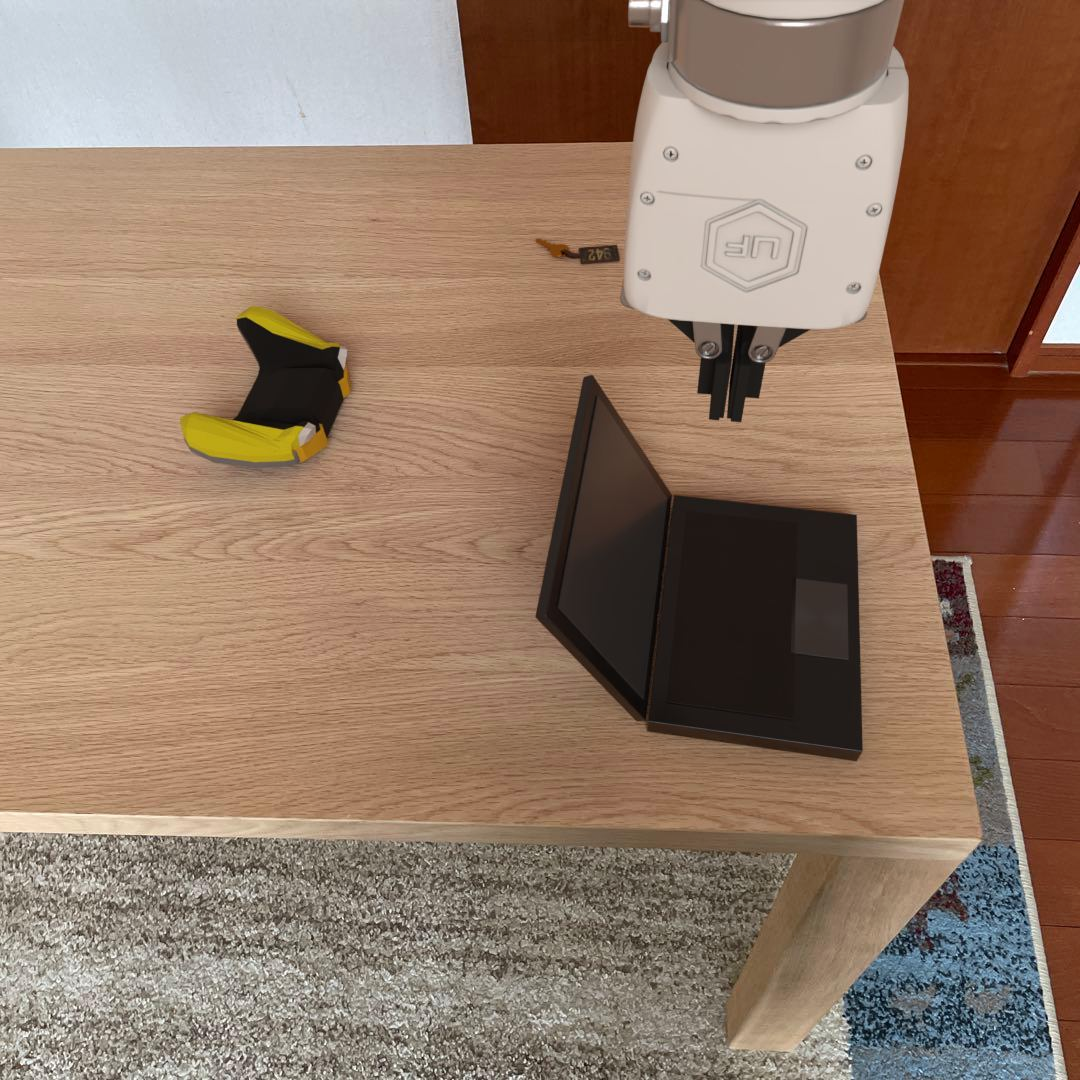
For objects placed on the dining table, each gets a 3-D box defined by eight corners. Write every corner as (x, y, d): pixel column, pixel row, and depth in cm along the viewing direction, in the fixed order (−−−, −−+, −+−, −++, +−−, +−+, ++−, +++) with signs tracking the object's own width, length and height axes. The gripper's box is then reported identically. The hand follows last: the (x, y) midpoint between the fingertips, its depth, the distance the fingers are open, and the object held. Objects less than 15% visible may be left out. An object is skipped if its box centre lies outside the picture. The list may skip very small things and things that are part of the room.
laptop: (851, 527, 68) (857, 513, 66) (856, 761, 58) (863, 751, 56) (672, 507, 69) (673, 493, 68) (646, 731, 59) (648, 720, 58)
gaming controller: (190, 478, 73) (310, 495, 71) (164, 431, 68) (292, 448, 67) (260, 345, 81) (369, 358, 80) (241, 295, 77) (356, 308, 75)
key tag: (622, 246, 87) (622, 241, 86) (618, 267, 85) (618, 262, 84) (535, 239, 88) (535, 234, 87) (530, 260, 86) (529, 254, 86)
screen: (594, 373, 59) (583, 376, 60) (547, 615, 49) (534, 617, 50) (673, 494, 68) (663, 496, 68) (648, 721, 58) (636, 722, 58)
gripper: (546, 75, 31) (567, 443, 46) (1029, 90, 28) (884, 472, 43) (580, -32, 35) (588, 338, 50) (1002, -26, 33) (878, 359, 48)
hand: (726, 400), depth 46 cm, fingers closed
